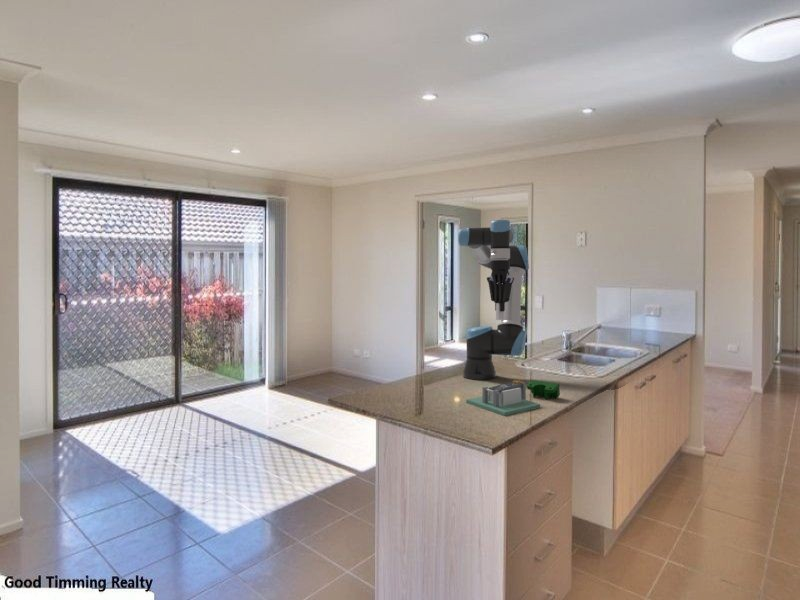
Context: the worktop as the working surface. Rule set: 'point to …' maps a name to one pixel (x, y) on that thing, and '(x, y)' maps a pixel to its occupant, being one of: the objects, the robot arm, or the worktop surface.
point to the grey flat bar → (507, 386)
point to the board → (504, 408)
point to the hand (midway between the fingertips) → (499, 319)
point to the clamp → (544, 389)
